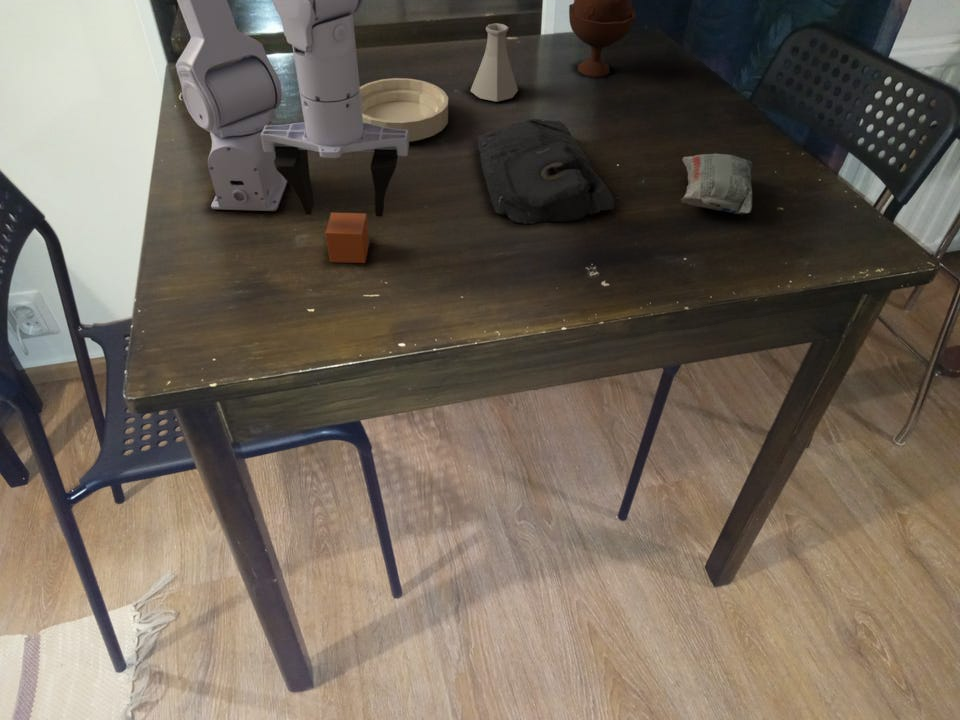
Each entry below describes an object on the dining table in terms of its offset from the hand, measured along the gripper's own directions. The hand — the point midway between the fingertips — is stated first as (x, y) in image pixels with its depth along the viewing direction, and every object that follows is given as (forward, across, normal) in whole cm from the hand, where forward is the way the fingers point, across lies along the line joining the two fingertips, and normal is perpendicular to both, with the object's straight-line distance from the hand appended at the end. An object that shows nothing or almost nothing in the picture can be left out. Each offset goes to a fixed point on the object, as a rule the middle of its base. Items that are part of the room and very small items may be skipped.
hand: (345, 210), depth 76 cm
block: (+6, 0, 0) cm, 6 cm away
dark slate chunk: (+6, +23, +18) cm, 30 cm away
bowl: (+6, +3, +32) cm, 33 cm away
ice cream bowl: (+6, +34, +53) cm, 63 cm away
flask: (+6, +17, +43) cm, 47 cm away
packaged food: (+6, +45, +14) cm, 47 cm away
